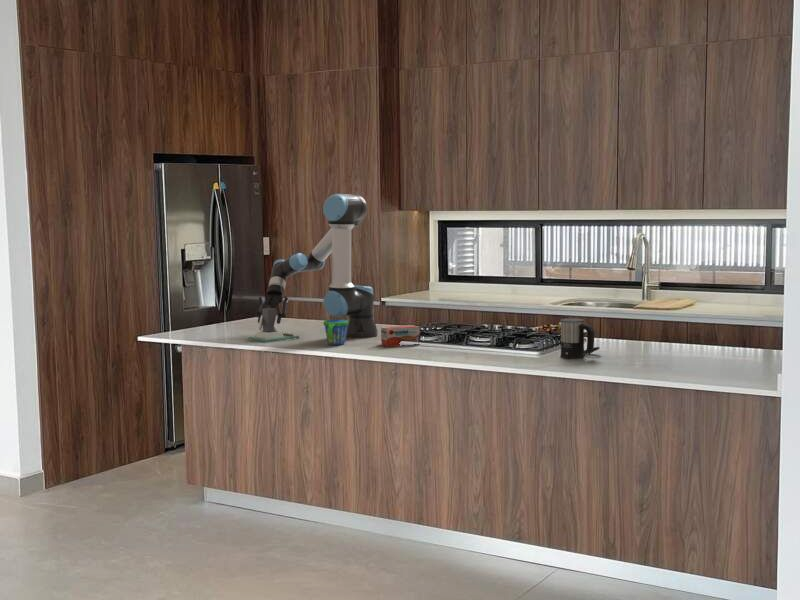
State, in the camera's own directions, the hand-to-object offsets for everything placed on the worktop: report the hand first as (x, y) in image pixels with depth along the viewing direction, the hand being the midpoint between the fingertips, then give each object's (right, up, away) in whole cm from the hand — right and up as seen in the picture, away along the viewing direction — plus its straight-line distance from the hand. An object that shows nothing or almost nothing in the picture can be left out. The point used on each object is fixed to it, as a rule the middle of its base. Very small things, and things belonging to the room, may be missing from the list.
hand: (267, 328), depth 429 cm
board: (+2, -5, +5) cm, 8 cm away
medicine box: (+59, -7, -16) cm, 62 cm away
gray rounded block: (+1, -3, +4) cm, 5 cm away
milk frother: (+130, -10, -51) cm, 140 cm away
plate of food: (+133, -3, +14) cm, 134 cm away
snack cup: (+32, -7, -12) cm, 35 cm away
